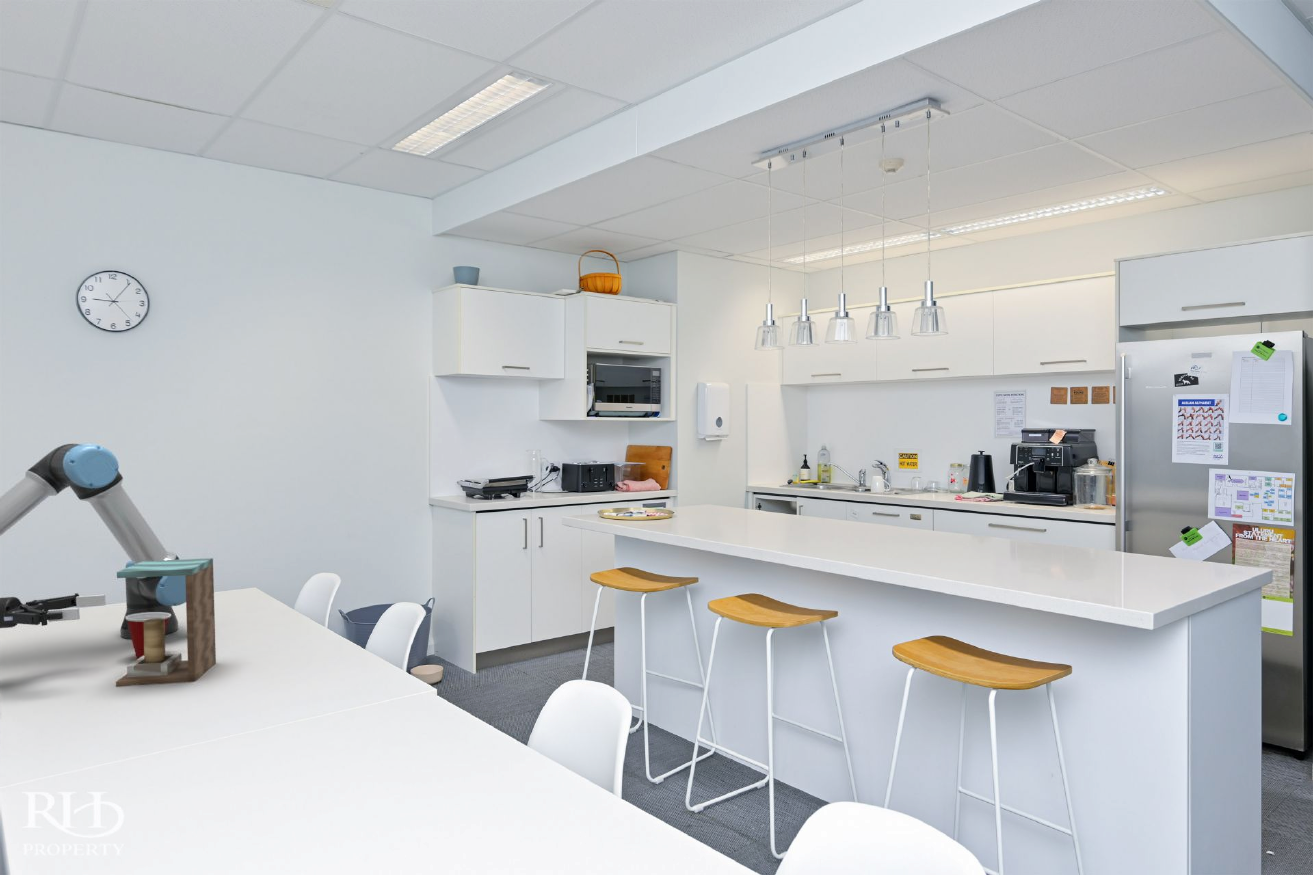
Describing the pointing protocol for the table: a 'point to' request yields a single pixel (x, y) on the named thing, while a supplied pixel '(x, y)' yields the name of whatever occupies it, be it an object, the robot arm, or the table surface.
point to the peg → (154, 640)
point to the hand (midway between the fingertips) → (92, 606)
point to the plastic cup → (142, 628)
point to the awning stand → (197, 623)
